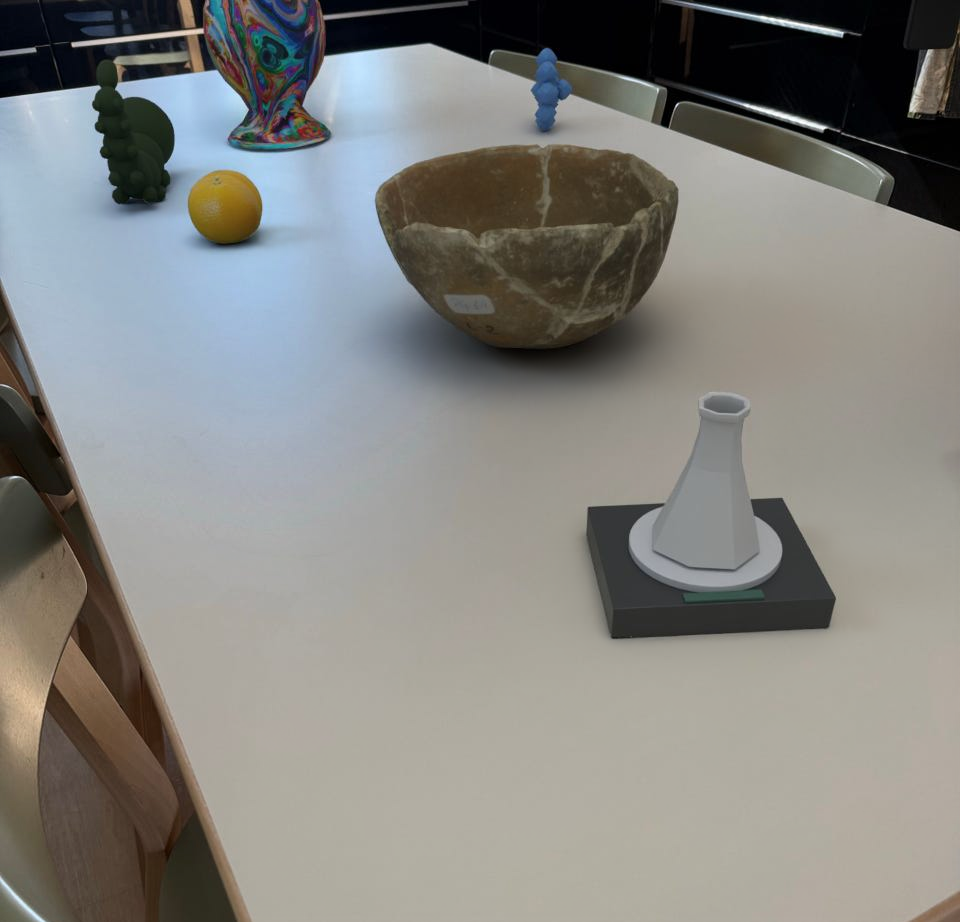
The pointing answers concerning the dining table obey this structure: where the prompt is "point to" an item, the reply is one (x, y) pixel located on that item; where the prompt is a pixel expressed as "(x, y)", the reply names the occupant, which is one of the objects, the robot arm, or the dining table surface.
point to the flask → (711, 493)
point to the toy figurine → (132, 140)
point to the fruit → (225, 206)
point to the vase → (269, 66)
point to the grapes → (548, 89)
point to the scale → (705, 578)
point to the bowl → (529, 238)
